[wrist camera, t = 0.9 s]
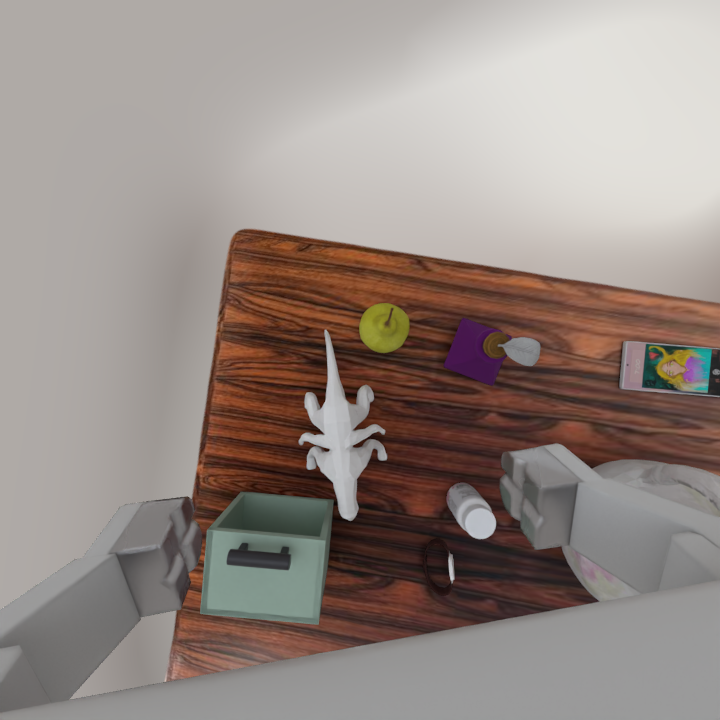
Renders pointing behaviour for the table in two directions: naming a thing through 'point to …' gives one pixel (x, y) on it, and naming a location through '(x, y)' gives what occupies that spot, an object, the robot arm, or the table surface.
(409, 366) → the table surface
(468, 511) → the pill bottle
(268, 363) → the table surface
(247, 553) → the basket
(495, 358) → the perfume bottle
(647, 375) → the smartphone
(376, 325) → the fruit
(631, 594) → the ceramic pitcher
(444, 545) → the watch
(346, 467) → the white toy dinosaur
